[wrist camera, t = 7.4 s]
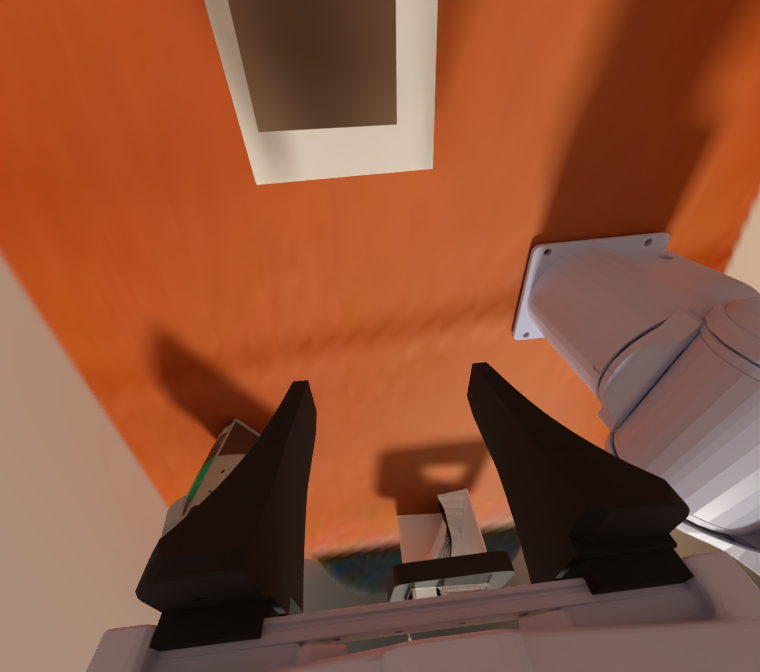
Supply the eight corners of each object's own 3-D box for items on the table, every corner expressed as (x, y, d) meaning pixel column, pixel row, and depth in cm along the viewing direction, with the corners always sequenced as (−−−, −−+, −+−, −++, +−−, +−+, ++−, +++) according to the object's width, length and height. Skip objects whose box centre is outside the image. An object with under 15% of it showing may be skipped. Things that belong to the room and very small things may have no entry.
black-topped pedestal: (561, 440, 36) (649, 577, 26) (497, 534, 52) (535, 644, 41) (324, 446, 34) (311, 603, 23) (331, 543, 49) (325, 664, 38)
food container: (178, 434, 30) (113, 552, 22) (222, 409, 28) (171, 526, 20) (268, 484, 36) (244, 589, 28) (308, 466, 35) (295, 572, 27)
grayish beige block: (380, -28, 12) (395, -104, 7) (384, 121, 14) (396, 124, 10) (257, -23, 11) (205, -98, 7) (285, 127, 14) (258, 132, 10)
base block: (424, -87, 13) (441, -134, 10) (421, 161, 18) (432, 168, 16) (206, -71, 12) (171, -114, 10) (269, 175, 18) (256, 184, 15)
